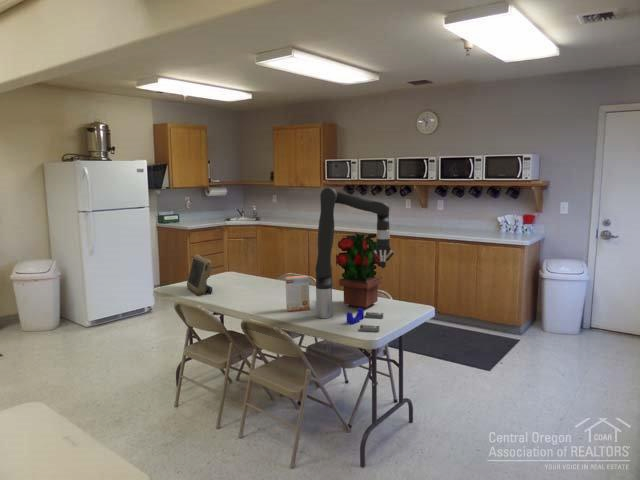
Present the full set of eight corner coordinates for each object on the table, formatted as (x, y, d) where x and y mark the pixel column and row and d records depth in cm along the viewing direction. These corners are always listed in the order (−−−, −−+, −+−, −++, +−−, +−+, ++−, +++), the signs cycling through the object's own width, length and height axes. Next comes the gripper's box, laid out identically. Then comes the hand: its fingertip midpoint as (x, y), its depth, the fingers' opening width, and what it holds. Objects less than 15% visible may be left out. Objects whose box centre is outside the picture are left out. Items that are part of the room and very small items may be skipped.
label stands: (359, 331, 255) (359, 326, 254) (366, 315, 282) (366, 311, 281) (378, 332, 252) (378, 327, 252) (383, 316, 280) (383, 312, 279)
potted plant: (368, 312, 288) (368, 238, 282) (336, 307, 300) (335, 236, 294) (384, 303, 306) (384, 233, 300) (353, 299, 318) (353, 231, 312)
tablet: (183, 288, 360) (181, 255, 356) (200, 285, 368) (199, 253, 364) (198, 296, 333) (196, 261, 330) (217, 293, 341) (215, 259, 337)
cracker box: (308, 307, 301) (307, 274, 298) (310, 310, 295) (309, 276, 292) (286, 309, 299) (285, 276, 296) (287, 311, 293) (286, 278, 290)
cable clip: (353, 324, 266) (352, 314, 265) (346, 323, 269) (346, 312, 268) (365, 319, 275) (365, 309, 274) (359, 318, 278) (359, 308, 277)
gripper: (370, 238, 270) (370, 268, 272) (394, 238, 267) (394, 269, 269) (372, 236, 277) (372, 266, 280) (395, 237, 274) (395, 266, 277)
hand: (383, 267), depth 275 cm, fingers closed
